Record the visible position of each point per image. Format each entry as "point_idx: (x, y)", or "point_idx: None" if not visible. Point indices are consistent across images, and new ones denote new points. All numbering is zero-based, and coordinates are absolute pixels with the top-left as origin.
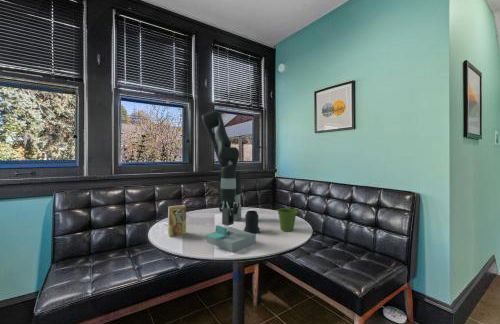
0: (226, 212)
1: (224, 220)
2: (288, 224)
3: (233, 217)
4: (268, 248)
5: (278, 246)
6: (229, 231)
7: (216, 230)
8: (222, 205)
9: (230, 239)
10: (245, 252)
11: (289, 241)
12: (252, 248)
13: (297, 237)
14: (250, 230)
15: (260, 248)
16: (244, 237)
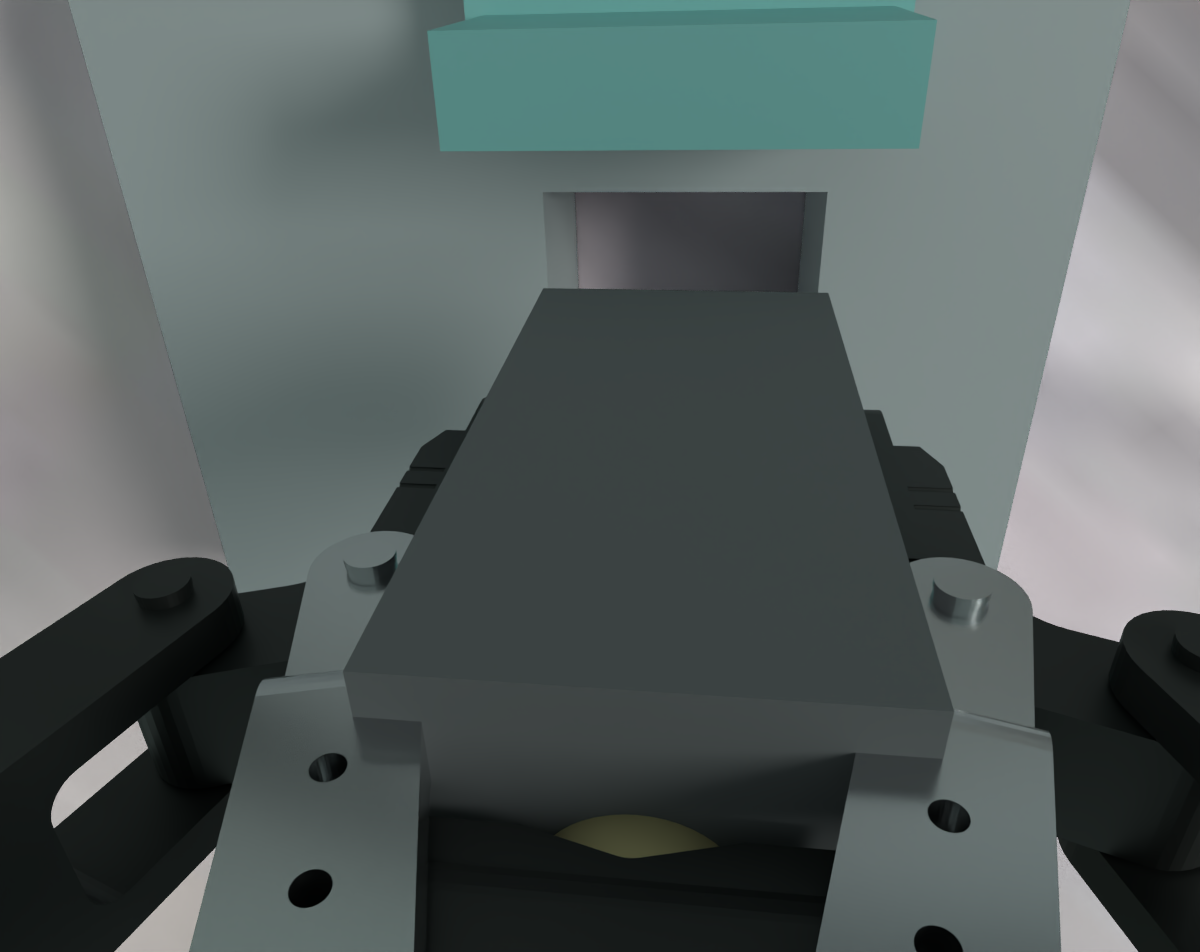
0: (514, 540)
1: (699, 350)
2: None
3: None
4: (6, 477)
5: (6, 611)
6: None
7: (852, 9)
8: (1050, 930)
9: (288, 45)
10: (30, 97)
11: (85, 801)
12: (126, 319)
13: (145, 930)
14: None
15: (62, 403)
16: (218, 369)
